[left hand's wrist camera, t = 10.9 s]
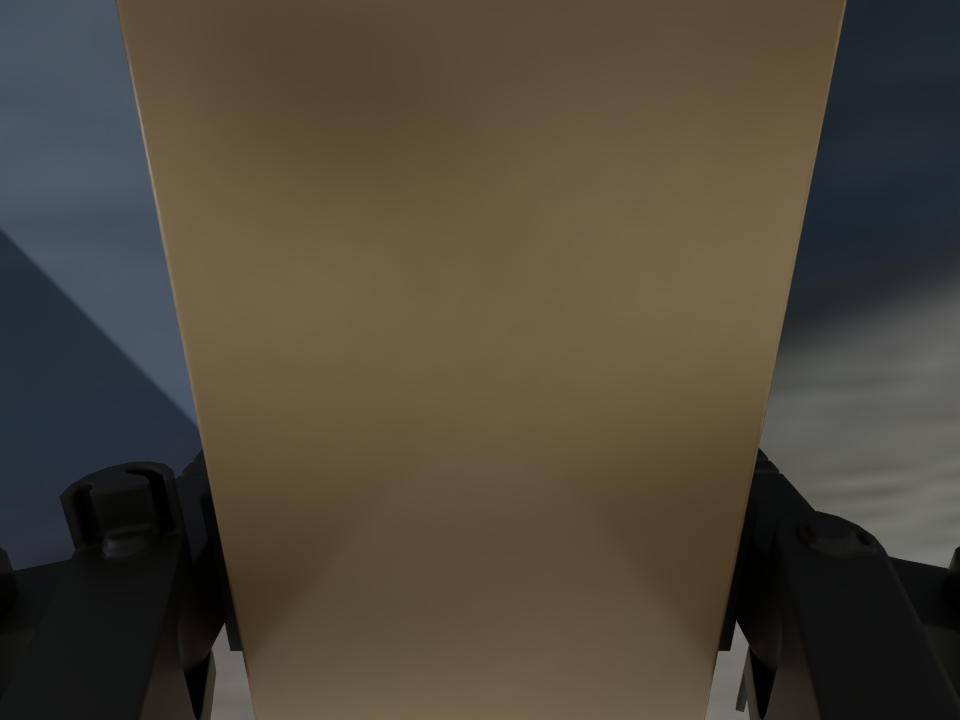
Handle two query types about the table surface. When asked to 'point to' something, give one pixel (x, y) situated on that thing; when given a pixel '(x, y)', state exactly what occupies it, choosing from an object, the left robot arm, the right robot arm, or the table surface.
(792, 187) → the beam
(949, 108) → the table surface
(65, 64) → the table surface
